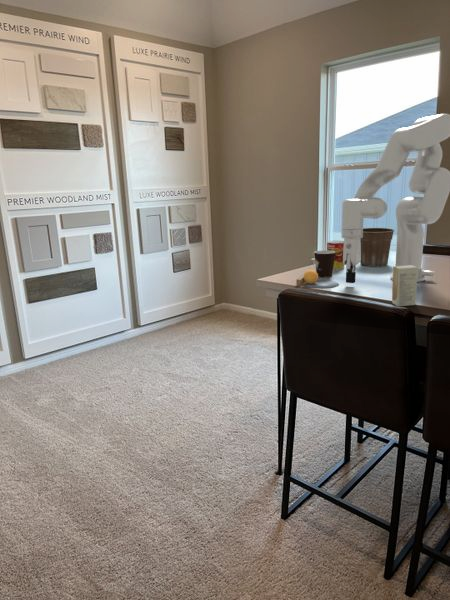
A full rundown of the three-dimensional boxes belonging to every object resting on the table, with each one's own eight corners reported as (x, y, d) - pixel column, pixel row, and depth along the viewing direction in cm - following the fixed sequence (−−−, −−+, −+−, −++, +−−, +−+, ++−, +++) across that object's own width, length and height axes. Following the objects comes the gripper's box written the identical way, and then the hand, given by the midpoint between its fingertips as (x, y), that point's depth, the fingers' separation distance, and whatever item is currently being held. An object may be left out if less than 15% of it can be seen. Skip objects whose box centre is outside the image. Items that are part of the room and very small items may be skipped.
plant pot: (395, 267, 200) (397, 231, 196) (358, 268, 203) (359, 232, 199) (388, 261, 216) (390, 227, 212) (354, 261, 218) (355, 228, 214)
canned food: (324, 267, 208) (324, 241, 205) (340, 266, 209) (341, 240, 206) (329, 270, 201) (330, 243, 198) (346, 269, 201) (347, 242, 198)
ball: (320, 282, 177) (319, 268, 175) (316, 285, 172) (315, 271, 171) (306, 282, 179) (305, 268, 178) (302, 285, 174) (301, 271, 173)
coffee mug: (335, 277, 185) (335, 253, 182) (313, 277, 187) (314, 253, 184) (334, 272, 196) (334, 249, 193) (314, 272, 198) (314, 249, 195)
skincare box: (410, 302, 145) (412, 264, 142) (416, 305, 141) (418, 267, 138) (390, 302, 145) (392, 265, 142) (395, 306, 141) (398, 268, 138)
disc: (342, 281, 177) (342, 281, 177) (334, 289, 166) (334, 288, 166) (309, 279, 183) (309, 279, 183) (300, 286, 172) (300, 286, 171)
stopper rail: (307, 280, 182) (307, 274, 181) (300, 286, 173) (300, 279, 172) (304, 280, 182) (304, 274, 182) (296, 285, 174) (296, 279, 173)
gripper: (358, 236, 156) (357, 287, 161) (366, 231, 169) (364, 279, 174) (337, 235, 160) (335, 286, 164) (346, 231, 173) (344, 277, 177)
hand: (350, 282), depth 169 cm, fingers closed
